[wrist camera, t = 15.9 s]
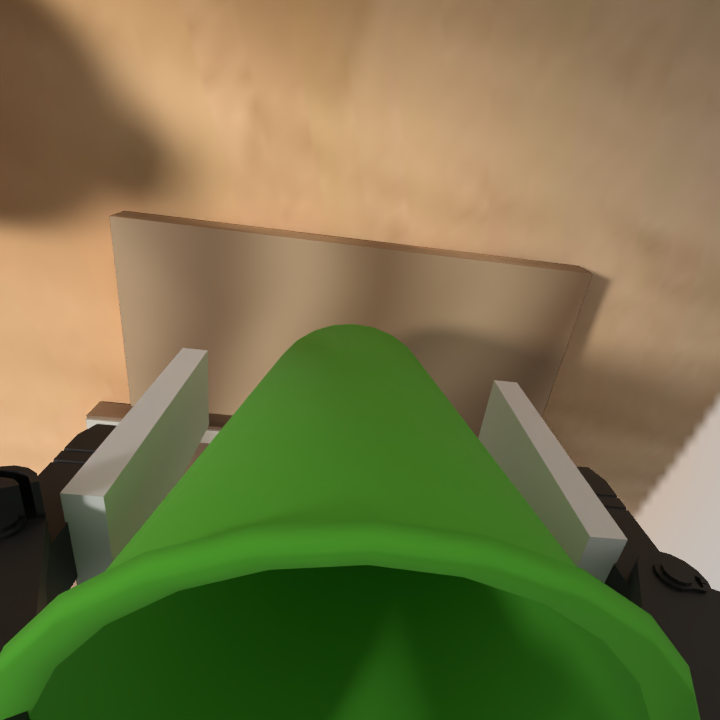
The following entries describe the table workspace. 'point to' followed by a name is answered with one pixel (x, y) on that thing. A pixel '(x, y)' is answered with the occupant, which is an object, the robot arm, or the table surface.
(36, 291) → the table surface
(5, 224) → the table surface
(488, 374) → the plank
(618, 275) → the table surface
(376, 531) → the cup
